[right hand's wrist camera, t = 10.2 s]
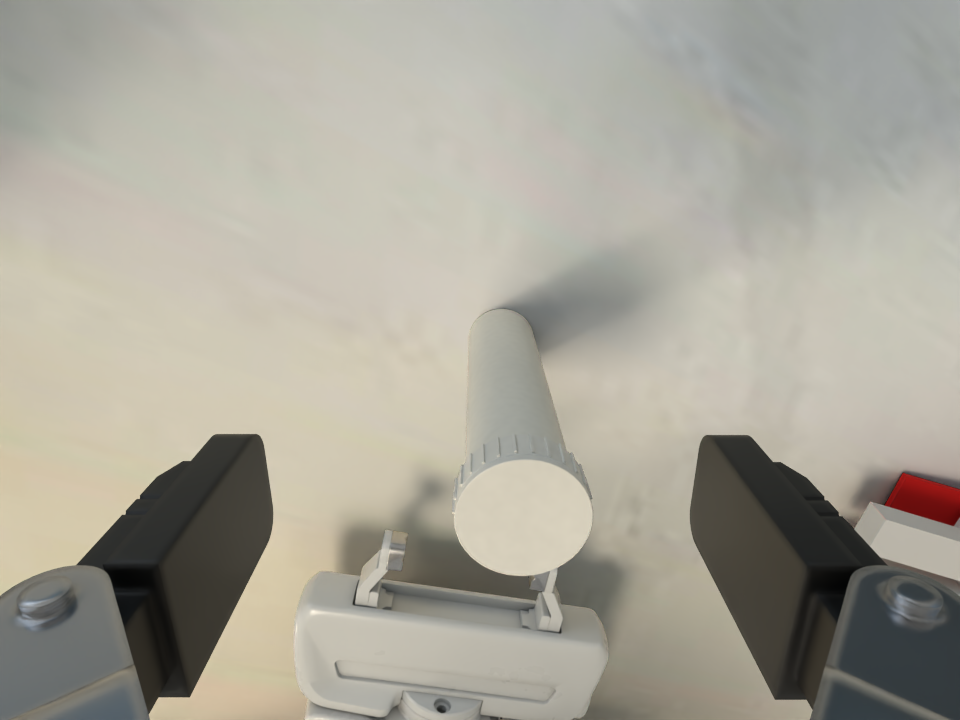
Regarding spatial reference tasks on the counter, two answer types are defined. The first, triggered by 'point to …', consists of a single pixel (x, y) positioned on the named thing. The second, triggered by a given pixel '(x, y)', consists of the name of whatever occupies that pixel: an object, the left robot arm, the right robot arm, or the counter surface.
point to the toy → (917, 529)
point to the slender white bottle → (506, 382)
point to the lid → (522, 505)
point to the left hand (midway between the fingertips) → (471, 547)
